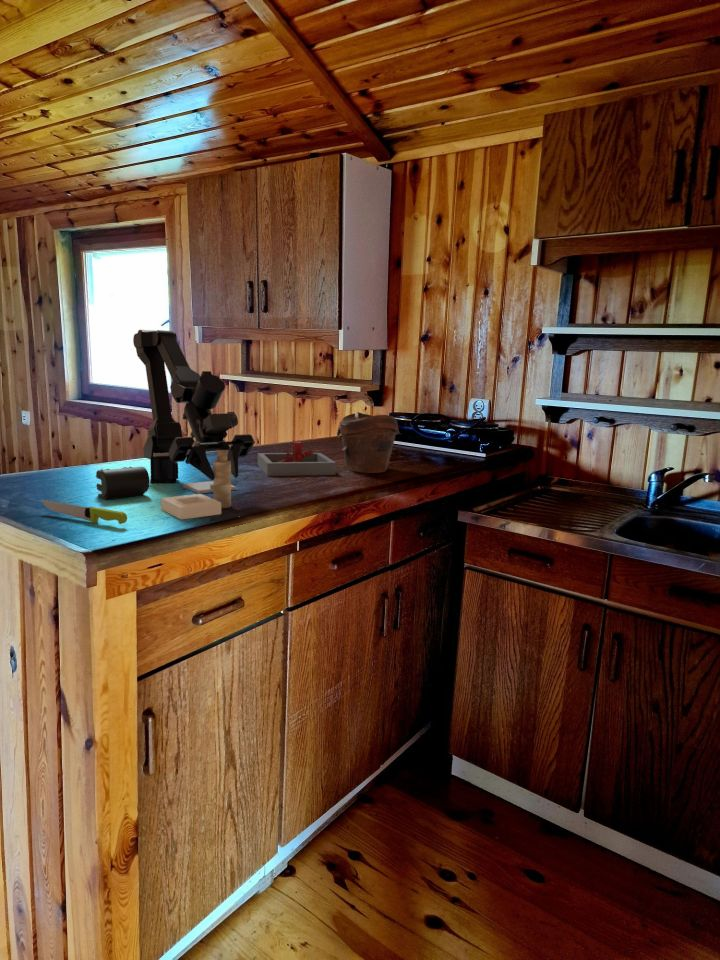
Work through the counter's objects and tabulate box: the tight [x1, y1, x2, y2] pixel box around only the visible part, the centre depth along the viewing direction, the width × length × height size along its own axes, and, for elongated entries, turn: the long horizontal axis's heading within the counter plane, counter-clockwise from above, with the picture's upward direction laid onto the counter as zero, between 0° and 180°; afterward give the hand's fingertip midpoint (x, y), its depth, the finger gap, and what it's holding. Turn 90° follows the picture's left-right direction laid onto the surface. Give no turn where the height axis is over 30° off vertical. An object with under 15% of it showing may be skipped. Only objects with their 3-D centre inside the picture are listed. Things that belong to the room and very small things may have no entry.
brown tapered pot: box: [336, 411, 400, 474], centre depth 193 cm, size 18×20×18 cm
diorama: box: [279, 439, 314, 462], centre depth 188 cm, size 11×12×8 cm
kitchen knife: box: [40, 499, 128, 525], centre depth 123 cm, size 22×1×3 cm, turn 66°
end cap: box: [95, 466, 151, 500], centre depth 144 cm, size 10×7×7 cm
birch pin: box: [212, 450, 232, 509], centre depth 138 cm, size 4×4×12 cm
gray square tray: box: [257, 452, 337, 477], centre depth 188 cm, size 20×19×4 cm
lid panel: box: [182, 480, 237, 494], centre depth 157 cm, size 9×10×2 cm
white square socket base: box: [160, 493, 222, 520], centre depth 133 cm, size 10×9×2 cm
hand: (225, 478), depth 137 cm, fingers open, 5 cm apart
